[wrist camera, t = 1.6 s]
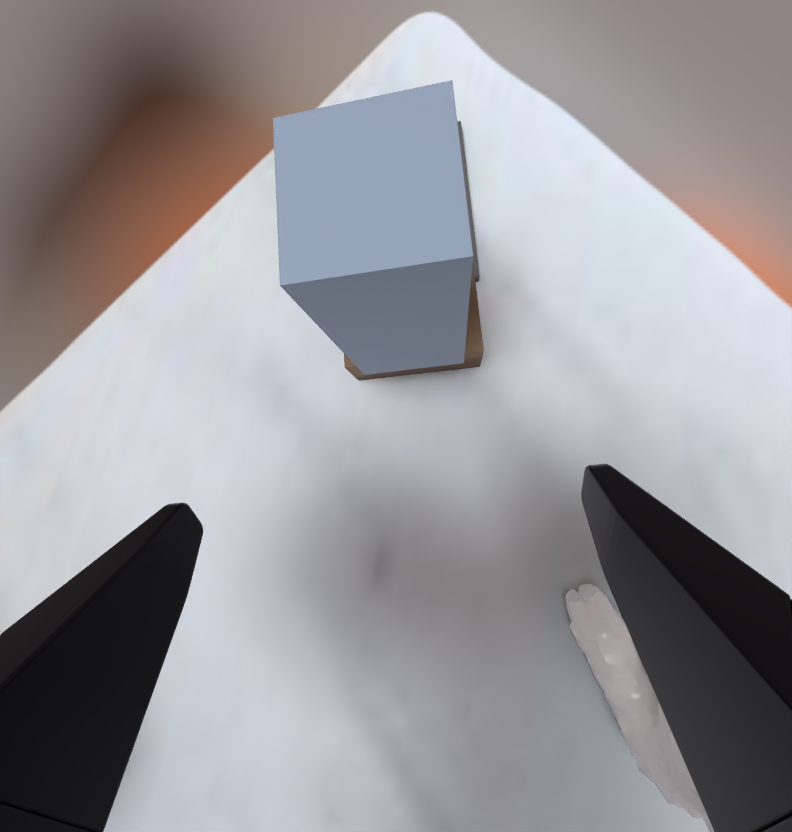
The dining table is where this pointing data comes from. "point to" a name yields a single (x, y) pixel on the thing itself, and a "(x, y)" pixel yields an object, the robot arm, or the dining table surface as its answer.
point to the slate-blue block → (378, 226)
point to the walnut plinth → (470, 360)
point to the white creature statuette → (631, 696)
